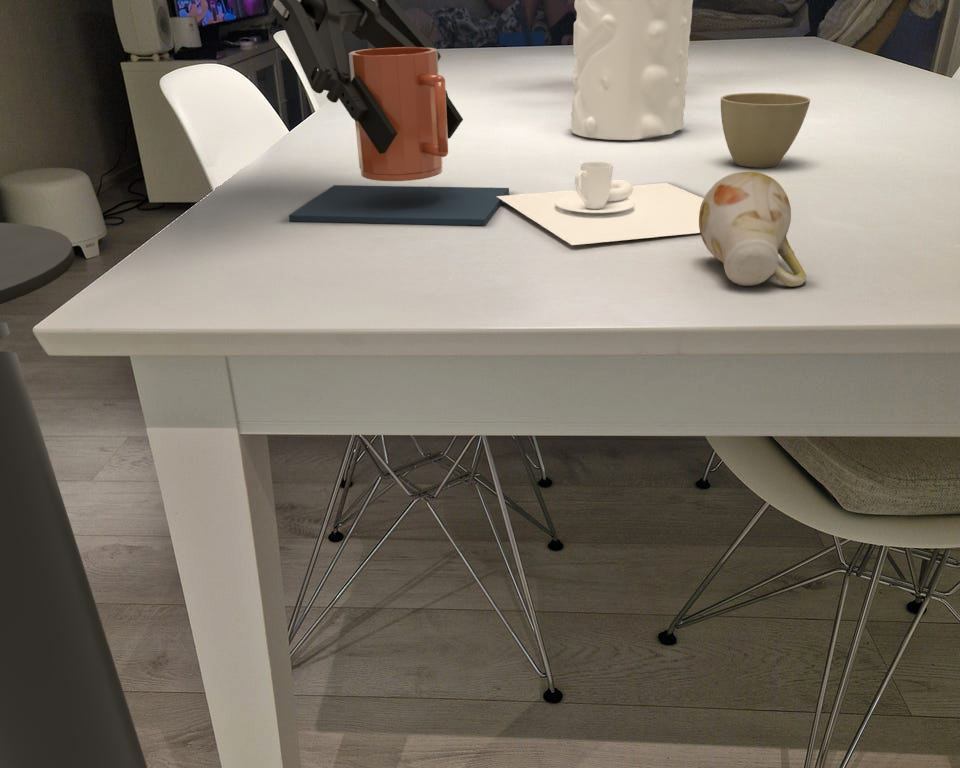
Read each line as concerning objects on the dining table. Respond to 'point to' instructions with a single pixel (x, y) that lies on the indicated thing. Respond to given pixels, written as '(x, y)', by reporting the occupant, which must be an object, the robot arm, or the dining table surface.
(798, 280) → the floral patterned cup
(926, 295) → the dining table surface
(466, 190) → the mat
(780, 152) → the flower pot
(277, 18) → the robot arm
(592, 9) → the vase
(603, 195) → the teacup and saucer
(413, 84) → the tall mug
